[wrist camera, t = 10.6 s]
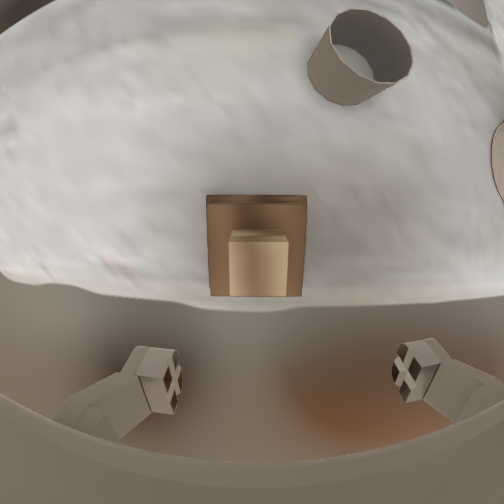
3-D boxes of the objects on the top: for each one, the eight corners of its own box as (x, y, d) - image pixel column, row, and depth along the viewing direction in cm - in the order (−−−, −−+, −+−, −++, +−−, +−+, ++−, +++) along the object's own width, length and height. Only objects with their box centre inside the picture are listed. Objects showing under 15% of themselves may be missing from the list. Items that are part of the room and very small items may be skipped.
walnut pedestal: (305, 195, 31) (313, 199, 27) (300, 286, 34) (306, 301, 30) (207, 195, 31) (200, 198, 27) (210, 286, 34) (205, 300, 30)
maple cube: (282, 229, 28) (288, 242, 23) (280, 275, 29) (285, 296, 24) (232, 228, 28) (228, 242, 23) (233, 275, 29) (229, 296, 24)
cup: (316, 108, 28) (343, 84, 18) (299, 48, 25) (316, 7, 16) (380, 103, 27) (423, 85, 17) (362, 46, 25) (396, 13, 15)
